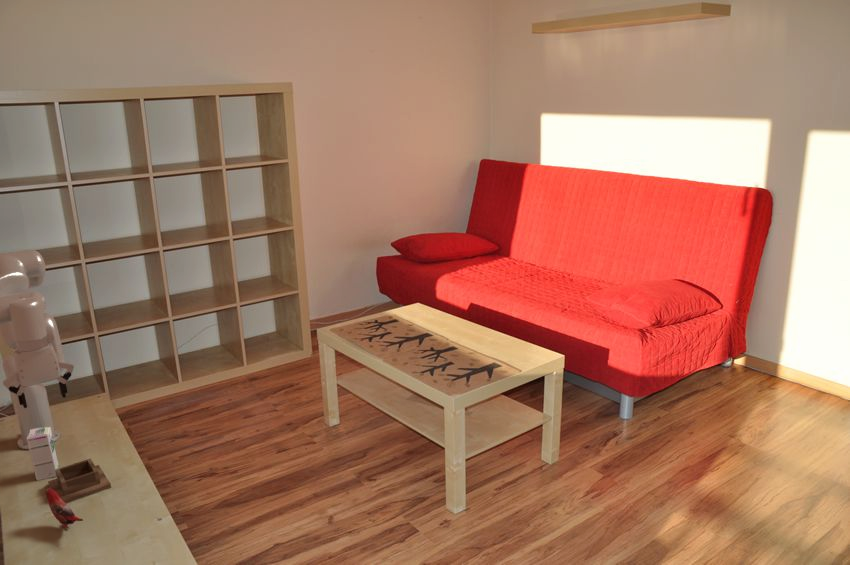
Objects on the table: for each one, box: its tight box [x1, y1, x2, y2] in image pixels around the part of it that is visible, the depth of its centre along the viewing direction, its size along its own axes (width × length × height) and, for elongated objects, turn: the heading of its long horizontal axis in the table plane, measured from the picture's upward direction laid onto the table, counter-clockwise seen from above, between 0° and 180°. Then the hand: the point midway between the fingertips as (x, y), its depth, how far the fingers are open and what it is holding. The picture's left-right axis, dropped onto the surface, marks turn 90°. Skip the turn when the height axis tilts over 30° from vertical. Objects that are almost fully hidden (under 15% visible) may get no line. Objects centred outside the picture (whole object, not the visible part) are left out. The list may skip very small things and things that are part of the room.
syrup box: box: [27, 426, 60, 481], centre depth 205 cm, size 6×6×14 cm
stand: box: [47, 458, 112, 504], centre depth 199 cm, size 14×14×5 cm
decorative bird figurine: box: [45, 488, 84, 530], centre depth 178 cm, size 3×18×10 cm, turn 55°
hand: (44, 401), depth 189 cm, fingers open, 9 cm apart
